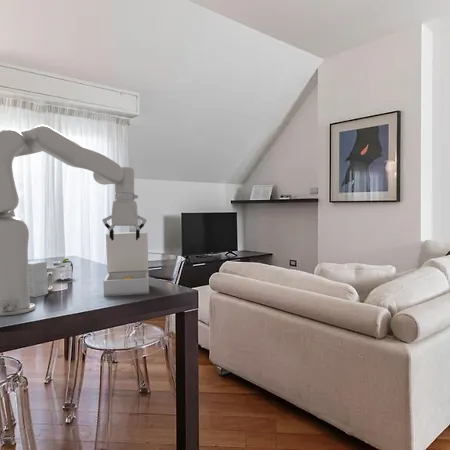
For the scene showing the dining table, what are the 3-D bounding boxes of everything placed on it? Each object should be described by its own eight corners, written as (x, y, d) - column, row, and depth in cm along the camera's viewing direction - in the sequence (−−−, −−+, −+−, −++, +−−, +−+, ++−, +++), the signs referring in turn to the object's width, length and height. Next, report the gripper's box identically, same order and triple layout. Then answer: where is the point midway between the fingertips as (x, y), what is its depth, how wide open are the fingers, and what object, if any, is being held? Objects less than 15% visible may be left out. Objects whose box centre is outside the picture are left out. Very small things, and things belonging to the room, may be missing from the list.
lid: (147, 232, 166) (147, 231, 168) (105, 233, 162) (106, 232, 164) (148, 272, 169) (148, 270, 171) (107, 274, 166) (108, 272, 168)
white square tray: (149, 293, 153) (148, 278, 152) (104, 296, 149) (103, 280, 149) (148, 285, 169) (148, 271, 169) (108, 287, 166) (107, 273, 166)
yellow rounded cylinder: (131, 291, 154) (132, 281, 154) (121, 291, 153) (121, 281, 153) (132, 285, 166) (133, 276, 165) (123, 285, 165) (123, 276, 165)
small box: (48, 294, 156) (47, 261, 155) (35, 297, 150) (33, 264, 149) (34, 292, 159) (32, 260, 158) (20, 295, 153) (18, 263, 152)
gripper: (146, 198, 163) (146, 239, 163) (103, 197, 159) (103, 239, 160) (146, 197, 155) (146, 240, 156) (101, 197, 152) (101, 240, 152)
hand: (124, 240), depth 158 cm, fingers open, 9 cm apart
